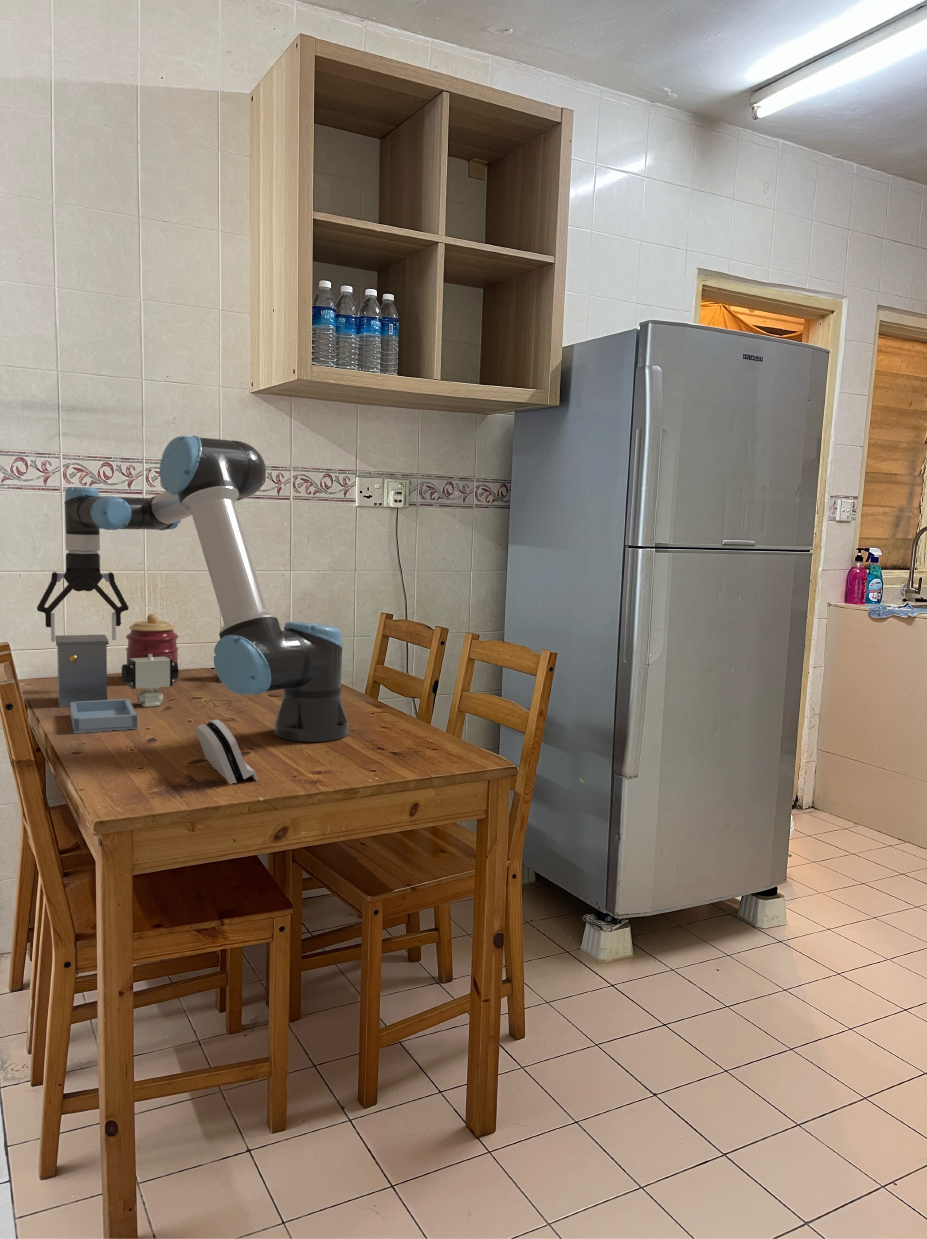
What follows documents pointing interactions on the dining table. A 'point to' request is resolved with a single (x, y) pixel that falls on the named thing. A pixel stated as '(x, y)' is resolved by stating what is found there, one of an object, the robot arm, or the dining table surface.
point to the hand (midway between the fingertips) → (83, 640)
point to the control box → (81, 668)
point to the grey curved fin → (223, 751)
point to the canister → (152, 639)
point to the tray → (102, 715)
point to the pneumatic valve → (150, 677)
